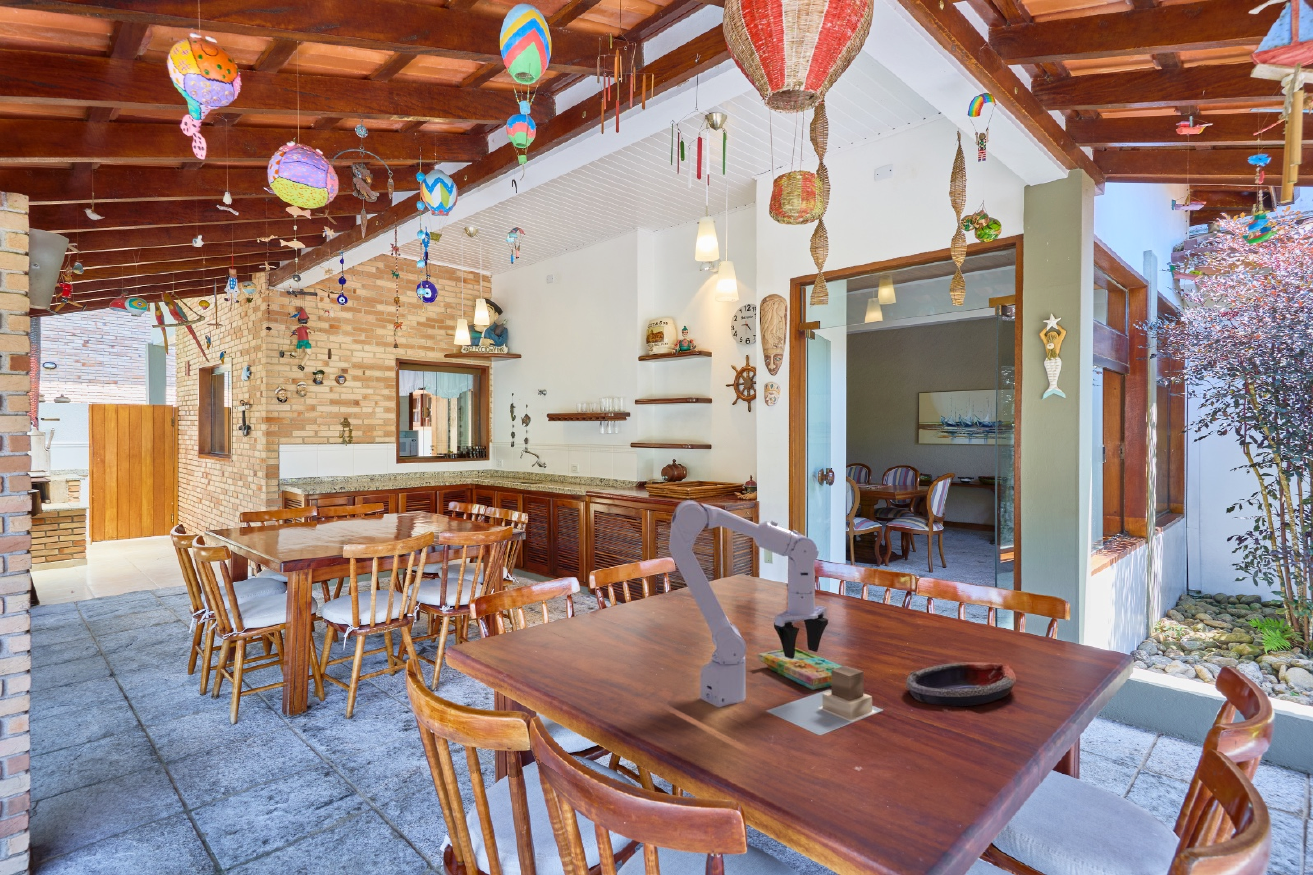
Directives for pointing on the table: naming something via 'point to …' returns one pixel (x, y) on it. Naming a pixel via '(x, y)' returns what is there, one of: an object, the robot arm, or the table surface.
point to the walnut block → (847, 683)
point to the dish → (961, 683)
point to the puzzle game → (800, 667)
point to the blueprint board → (814, 714)
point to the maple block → (847, 705)
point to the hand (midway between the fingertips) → (801, 654)
